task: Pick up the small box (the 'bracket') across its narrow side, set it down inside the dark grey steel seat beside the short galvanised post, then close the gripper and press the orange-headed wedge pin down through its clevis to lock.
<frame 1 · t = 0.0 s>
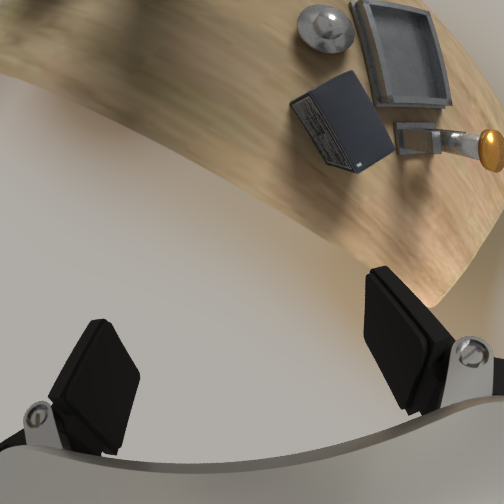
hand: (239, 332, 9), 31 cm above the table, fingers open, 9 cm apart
small box: (326, 123, 35), on the table
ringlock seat: (400, 54, 30), on the table
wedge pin: (463, 144, 25), point 12 cm above the table, slide at 0.0 cm
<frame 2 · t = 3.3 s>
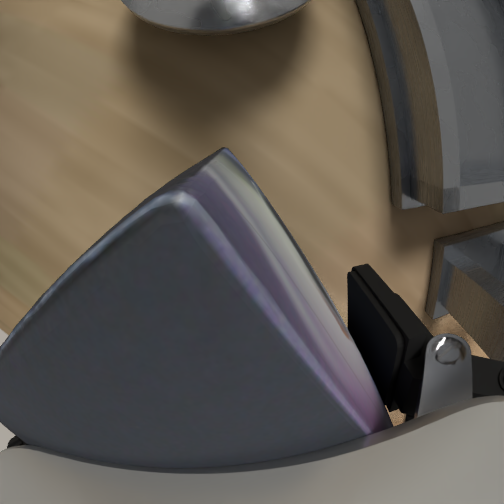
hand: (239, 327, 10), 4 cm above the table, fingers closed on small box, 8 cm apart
small box: (237, 271, 14), on the table, touching gripper
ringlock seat: (463, 44, 9), on the table
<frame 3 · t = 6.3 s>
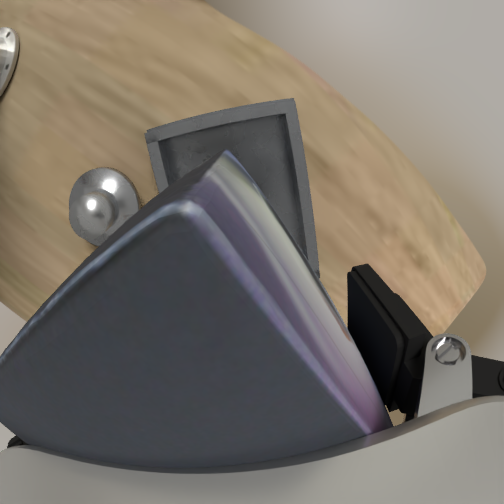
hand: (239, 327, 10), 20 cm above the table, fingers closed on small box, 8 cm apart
small box: (238, 272, 14), point 15 cm above the table, touching gripper
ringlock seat: (238, 200, 28), on the table
when the fingers open (6 cm above the table, at t = 9.4 s): small box stays where it is, resting on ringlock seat.
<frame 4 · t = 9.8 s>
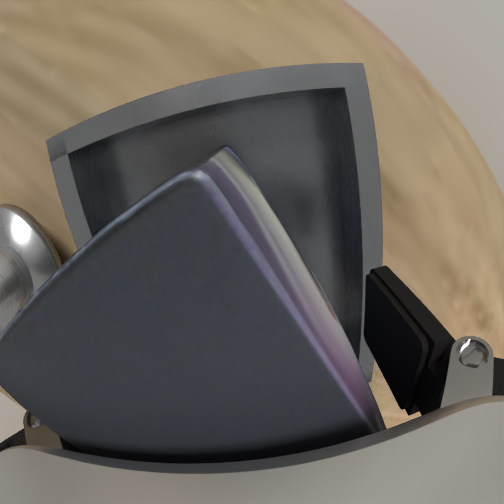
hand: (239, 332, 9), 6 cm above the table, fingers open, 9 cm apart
small box: (234, 263, 14), point 1 cm above the table, touching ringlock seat
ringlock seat: (237, 258, 15), on the table
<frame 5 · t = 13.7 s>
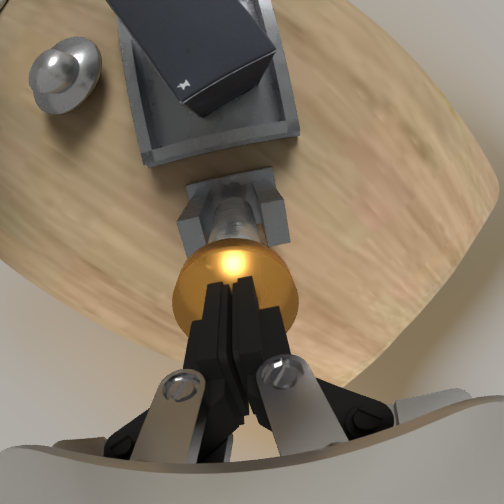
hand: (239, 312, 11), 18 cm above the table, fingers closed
small box: (201, 56, 20), point 1 cm above the table, touching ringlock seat
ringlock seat: (204, 59, 21), on the table
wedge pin: (234, 246, 16), point 11 cm above the table, slide at 0.2 cm, touching gripper
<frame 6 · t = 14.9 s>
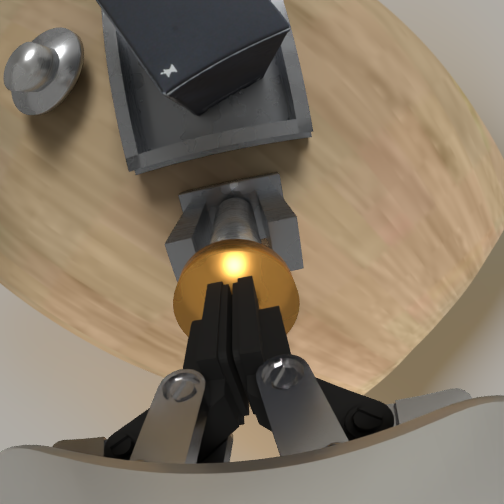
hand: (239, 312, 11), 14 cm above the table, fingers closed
small box: (197, 45, 17), point 1 cm above the table, touching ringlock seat
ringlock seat: (200, 49, 17), on the table
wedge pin: (235, 247, 16), point 8 cm above the table, slide at 3.9 cm, touching gripper
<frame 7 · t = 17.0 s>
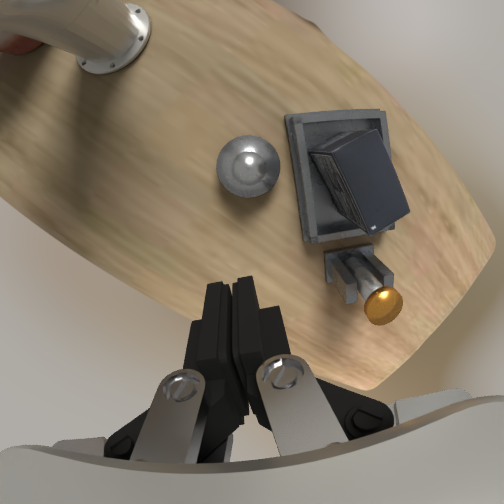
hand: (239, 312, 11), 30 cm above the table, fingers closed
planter: (41, 14, 23), on the table
small box: (343, 172, 37), point 1 cm above the table, touching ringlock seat
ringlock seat: (342, 172, 38), on the table
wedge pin: (367, 284, 36), point 8 cm above the table, slide at 3.9 cm
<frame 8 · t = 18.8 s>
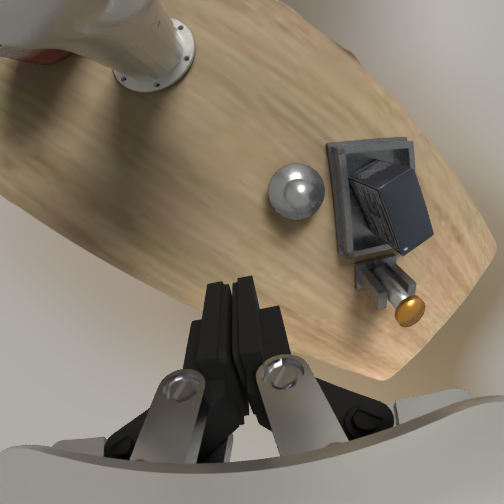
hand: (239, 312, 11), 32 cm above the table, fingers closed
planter: (65, 21, 26), on the table
small box: (374, 195, 41), point 1 cm above the table, touching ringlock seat
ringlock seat: (372, 194, 42), on the table
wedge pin: (394, 292, 40), point 8 cm above the table, slide at 3.9 cm
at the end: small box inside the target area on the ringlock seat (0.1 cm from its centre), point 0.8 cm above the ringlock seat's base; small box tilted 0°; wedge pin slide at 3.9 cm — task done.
